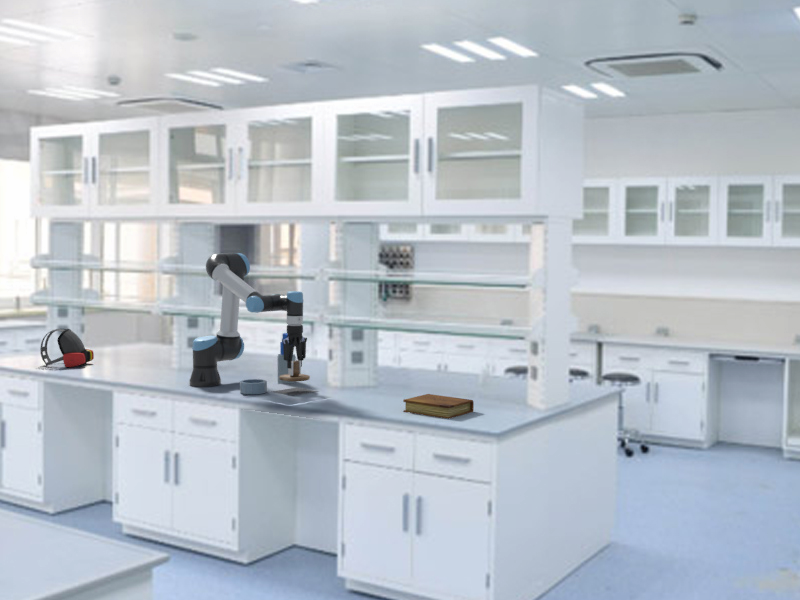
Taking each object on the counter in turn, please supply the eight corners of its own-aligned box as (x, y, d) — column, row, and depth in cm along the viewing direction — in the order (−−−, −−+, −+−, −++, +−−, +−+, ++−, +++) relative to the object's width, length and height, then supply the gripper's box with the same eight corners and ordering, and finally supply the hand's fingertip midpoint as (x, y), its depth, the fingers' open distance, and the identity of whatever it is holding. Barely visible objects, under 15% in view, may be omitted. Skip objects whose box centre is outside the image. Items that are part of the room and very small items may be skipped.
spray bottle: (278, 382, 457) (278, 332, 455) (296, 382, 457) (296, 332, 455) (276, 385, 448) (276, 334, 446) (294, 385, 448) (294, 334, 446)
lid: (273, 378, 424) (273, 361, 424) (296, 375, 435) (296, 358, 434) (292, 382, 415) (292, 364, 414) (315, 379, 425) (315, 361, 424)
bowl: (234, 394, 422) (234, 381, 421) (255, 390, 431) (255, 378, 430) (251, 397, 414) (250, 384, 413) (271, 394, 423) (271, 381, 422)
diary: (473, 413, 384) (473, 399, 384) (448, 420, 369) (448, 406, 369) (428, 406, 398) (429, 393, 398) (403, 412, 383) (403, 399, 383)
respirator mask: (84, 363, 497) (64, 322, 496) (46, 382, 499) (26, 341, 498) (99, 358, 519) (80, 318, 518) (63, 376, 521) (43, 336, 520)
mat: (270, 393, 425) (270, 391, 425) (296, 389, 436) (296, 387, 436) (293, 397, 414) (293, 395, 414) (319, 393, 425) (319, 391, 425)
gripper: (285, 326, 414) (285, 377, 416) (314, 324, 426) (313, 373, 428) (275, 325, 419) (275, 375, 421) (303, 322, 431) (303, 371, 433)
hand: (294, 374), depth 425 cm, fingers closed on lid, 4 cm apart
